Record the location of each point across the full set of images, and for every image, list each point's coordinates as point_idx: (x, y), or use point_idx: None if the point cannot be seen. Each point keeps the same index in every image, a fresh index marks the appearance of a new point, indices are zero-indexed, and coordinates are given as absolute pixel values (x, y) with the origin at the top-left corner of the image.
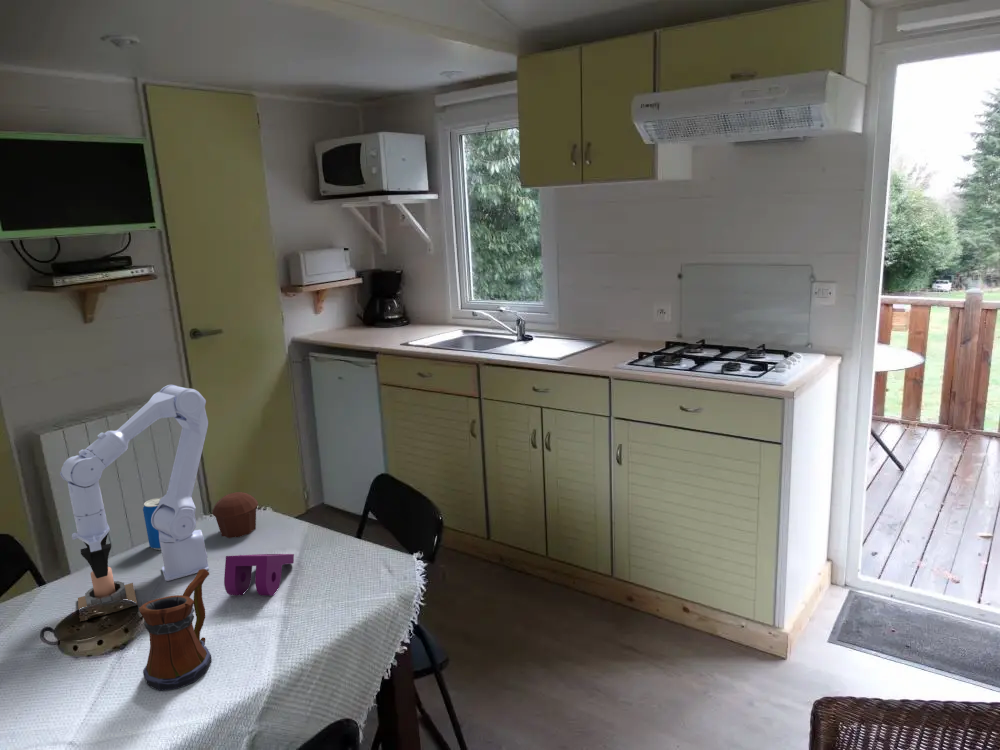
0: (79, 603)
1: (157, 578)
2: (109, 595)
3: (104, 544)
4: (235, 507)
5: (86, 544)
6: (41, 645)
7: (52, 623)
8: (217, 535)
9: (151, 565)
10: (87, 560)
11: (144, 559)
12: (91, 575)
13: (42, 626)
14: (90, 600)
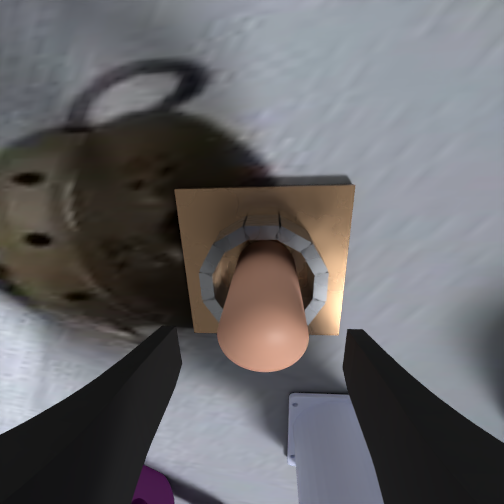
0: (302, 190)
1: (331, 379)
2: (211, 296)
3: (381, 484)
4: None
5: (427, 446)
6: (77, 69)
7: (224, 98)
8: None
9: (433, 377)
10: (21, 426)
11: (499, 368)
12: (243, 300)
13: (220, 61)
14: (216, 240)
